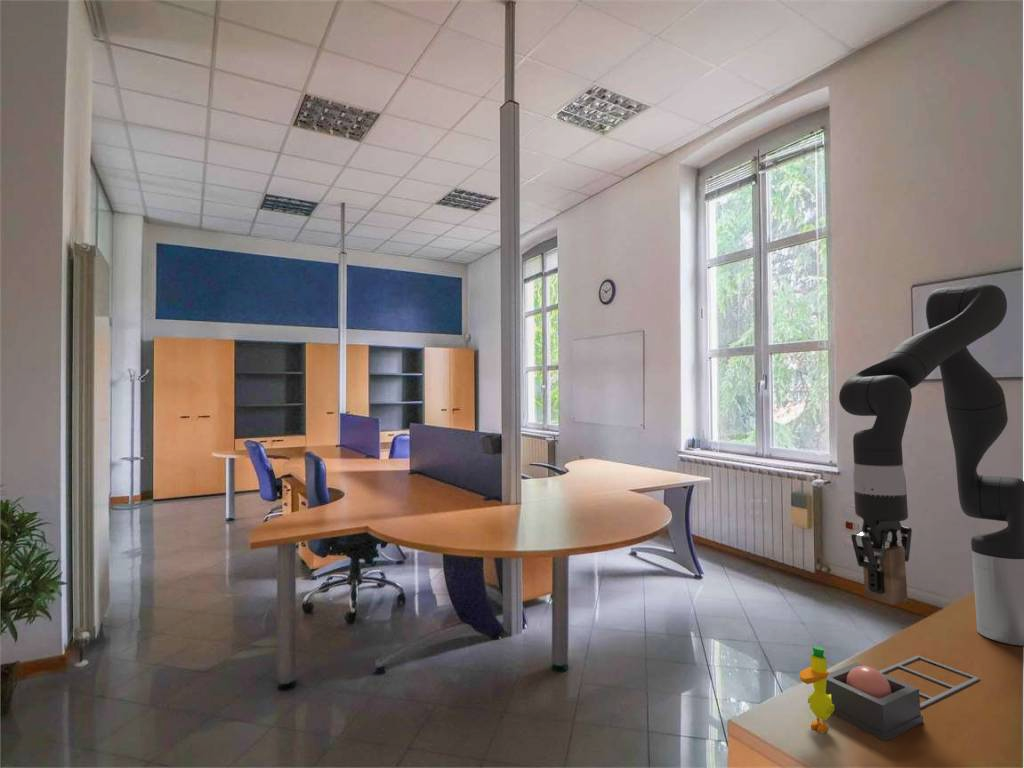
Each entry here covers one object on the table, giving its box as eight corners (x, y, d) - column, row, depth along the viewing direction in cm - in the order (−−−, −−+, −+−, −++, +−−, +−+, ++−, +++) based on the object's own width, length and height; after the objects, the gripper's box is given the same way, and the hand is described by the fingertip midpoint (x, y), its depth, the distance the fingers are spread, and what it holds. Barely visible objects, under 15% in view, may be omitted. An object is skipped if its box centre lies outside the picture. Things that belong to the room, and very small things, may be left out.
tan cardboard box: (879, 592, 93) (876, 541, 93) (907, 600, 89) (904, 546, 89) (865, 596, 91) (861, 544, 91) (892, 605, 87) (889, 550, 87)
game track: (917, 656, 101) (917, 655, 101) (979, 679, 93) (979, 678, 93) (848, 685, 92) (848, 683, 92) (910, 713, 83) (910, 711, 83)
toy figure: (815, 741, 77) (811, 658, 78) (793, 728, 80) (789, 649, 81) (844, 728, 80) (839, 648, 81) (821, 716, 83) (817, 639, 84)
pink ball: (861, 692, 87) (859, 655, 88) (901, 710, 82) (898, 671, 82) (839, 702, 85) (837, 664, 85) (878, 721, 79) (876, 681, 80)
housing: (857, 691, 90) (855, 661, 90) (923, 722, 81) (921, 689, 81) (819, 707, 86) (818, 676, 86) (885, 741, 77) (883, 706, 77)
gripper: (878, 497, 84) (884, 604, 84) (927, 489, 91) (933, 589, 90) (832, 491, 91) (837, 590, 90) (880, 484, 97) (886, 577, 97)
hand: (885, 589), depth 90 cm, fingers closed on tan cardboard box, 4 cm apart
